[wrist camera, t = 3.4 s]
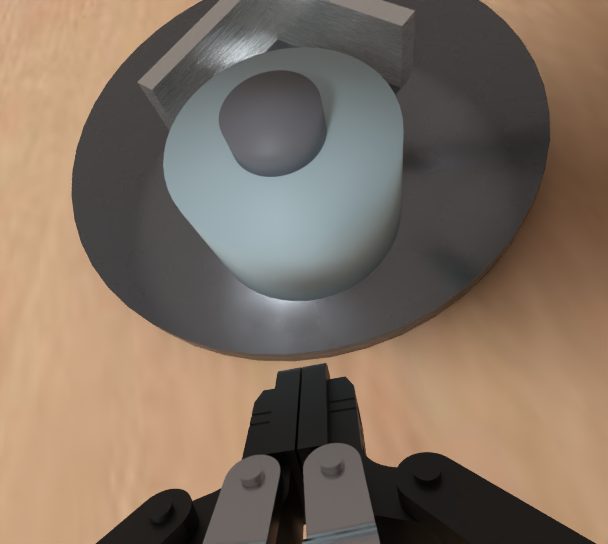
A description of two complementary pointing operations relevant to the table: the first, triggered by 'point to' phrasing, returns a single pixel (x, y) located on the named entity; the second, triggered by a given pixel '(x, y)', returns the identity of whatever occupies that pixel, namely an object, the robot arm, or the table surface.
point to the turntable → (415, 171)
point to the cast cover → (291, 170)
